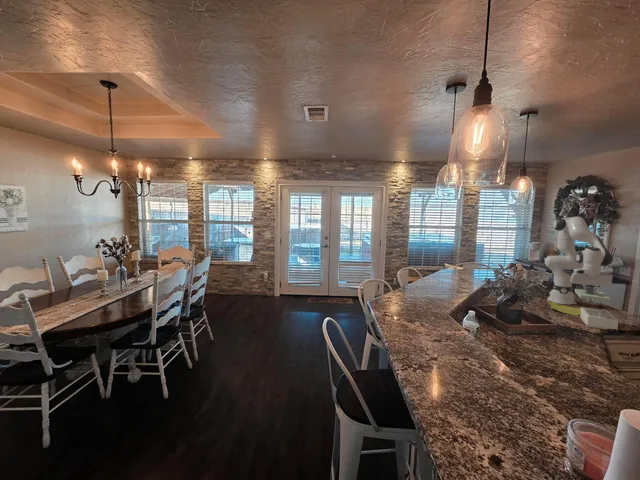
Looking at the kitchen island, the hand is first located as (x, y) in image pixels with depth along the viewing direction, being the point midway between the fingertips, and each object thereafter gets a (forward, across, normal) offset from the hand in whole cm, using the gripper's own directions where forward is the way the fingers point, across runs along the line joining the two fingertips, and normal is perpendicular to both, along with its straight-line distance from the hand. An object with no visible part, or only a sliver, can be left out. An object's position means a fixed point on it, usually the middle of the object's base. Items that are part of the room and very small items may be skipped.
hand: (589, 291), depth 192 cm
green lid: (+3, -1, 0) cm, 3 cm away
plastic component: (+22, +10, -20) cm, 31 cm away
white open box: (+21, -5, 0) cm, 22 cm away
